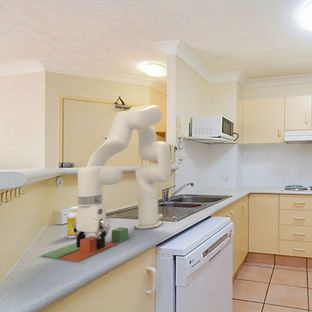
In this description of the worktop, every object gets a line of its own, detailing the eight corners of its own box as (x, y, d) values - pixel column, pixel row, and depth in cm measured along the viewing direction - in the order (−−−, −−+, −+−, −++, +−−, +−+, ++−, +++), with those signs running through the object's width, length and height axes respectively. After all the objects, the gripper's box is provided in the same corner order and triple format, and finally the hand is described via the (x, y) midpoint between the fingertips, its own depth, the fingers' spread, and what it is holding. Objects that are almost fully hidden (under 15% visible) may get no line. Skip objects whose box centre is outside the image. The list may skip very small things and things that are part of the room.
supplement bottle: (76, 238, 99) (75, 208, 100) (63, 238, 101) (63, 208, 101) (89, 234, 106) (88, 205, 106) (76, 233, 107) (76, 205, 107)
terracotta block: (90, 247, 88) (90, 235, 88) (99, 248, 87) (99, 236, 87) (80, 252, 84) (79, 239, 84) (89, 253, 82) (89, 240, 82)
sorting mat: (83, 240, 97) (83, 239, 97) (116, 244, 92) (116, 243, 92) (41, 256, 81) (41, 254, 82) (78, 261, 76) (78, 260, 76)
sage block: (119, 237, 100) (119, 227, 100) (128, 238, 99) (127, 227, 99) (111, 240, 96) (111, 230, 96) (120, 241, 95) (120, 231, 95)
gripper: (117, 199, 87) (117, 245, 86) (81, 198, 92) (82, 241, 92) (99, 203, 79) (100, 253, 79) (62, 201, 85) (63, 249, 84)
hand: (90, 247), depth 85 cm, fingers open, 8 cm apart
